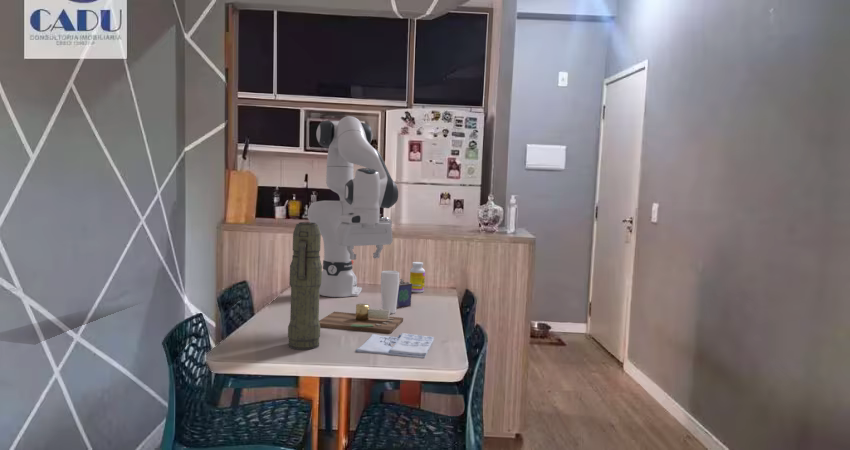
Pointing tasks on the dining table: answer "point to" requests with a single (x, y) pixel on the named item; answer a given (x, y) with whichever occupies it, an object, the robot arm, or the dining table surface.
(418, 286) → the supplement bottle
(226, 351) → the dining table surface
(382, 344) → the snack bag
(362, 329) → the dial board
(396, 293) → the drinking glass
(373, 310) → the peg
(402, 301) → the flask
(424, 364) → the dining table surface
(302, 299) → the thermos
